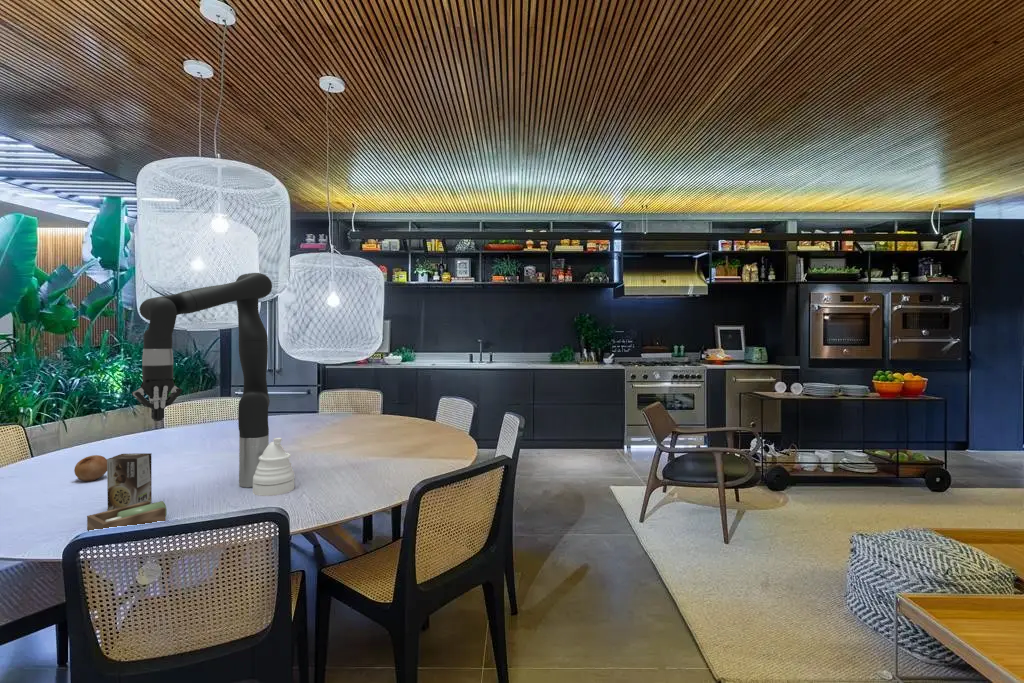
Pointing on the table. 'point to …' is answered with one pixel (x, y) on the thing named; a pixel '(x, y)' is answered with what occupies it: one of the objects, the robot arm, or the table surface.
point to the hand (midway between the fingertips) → (157, 420)
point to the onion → (91, 468)
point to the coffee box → (129, 480)
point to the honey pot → (273, 471)
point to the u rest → (146, 517)
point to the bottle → (139, 510)
